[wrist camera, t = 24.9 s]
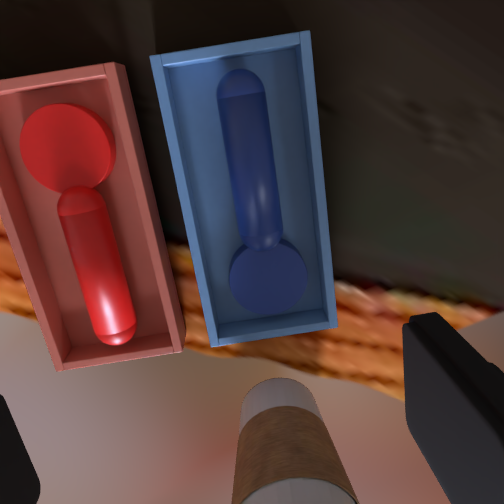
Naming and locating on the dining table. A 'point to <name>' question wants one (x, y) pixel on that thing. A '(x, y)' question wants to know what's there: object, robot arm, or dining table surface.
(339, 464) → the coffee cup
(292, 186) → the blue tray
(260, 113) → the blue spoon
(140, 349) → the rose tray
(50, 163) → the red spoon
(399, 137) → the dining table surface
